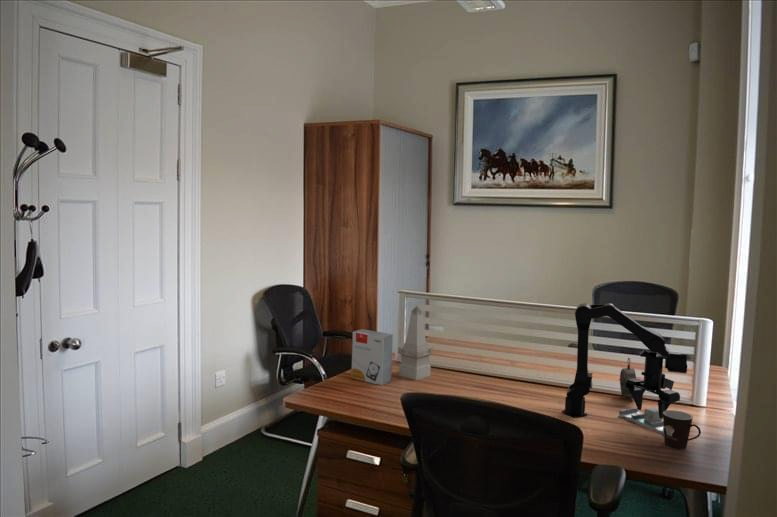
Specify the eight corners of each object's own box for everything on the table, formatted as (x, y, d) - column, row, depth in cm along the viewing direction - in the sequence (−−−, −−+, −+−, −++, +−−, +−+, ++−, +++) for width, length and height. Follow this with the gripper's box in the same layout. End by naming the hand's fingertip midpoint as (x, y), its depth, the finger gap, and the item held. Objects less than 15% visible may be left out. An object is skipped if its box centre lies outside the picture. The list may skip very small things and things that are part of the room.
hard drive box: (350, 379, 267) (351, 331, 265) (360, 374, 274) (361, 328, 272) (382, 385, 259) (383, 336, 257) (392, 381, 266) (393, 333, 263)
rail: (665, 435, 213) (665, 429, 212) (618, 416, 230) (619, 410, 230) (682, 432, 216) (682, 425, 216) (635, 413, 234) (635, 407, 234)
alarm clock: (636, 403, 245) (638, 361, 244) (621, 402, 246) (623, 360, 245) (631, 394, 256) (634, 354, 254) (617, 393, 257) (619, 353, 255)
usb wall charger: (661, 421, 223) (662, 410, 223) (648, 424, 220) (649, 413, 219) (652, 417, 227) (652, 406, 226) (638, 420, 223) (639, 409, 223)
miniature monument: (431, 375, 275) (434, 306, 272) (416, 380, 268) (418, 309, 265) (412, 370, 282) (415, 302, 279) (397, 375, 274) (399, 305, 271)
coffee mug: (655, 440, 208) (657, 410, 207) (681, 440, 209) (683, 410, 208) (674, 454, 197) (676, 423, 196) (701, 454, 198) (704, 423, 197)
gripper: (692, 374, 217) (689, 419, 218) (648, 361, 233) (645, 403, 235) (669, 378, 212) (666, 424, 213) (625, 364, 228) (622, 406, 230)
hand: (650, 414), depth 223 cm, fingers open, 9 cm apart
